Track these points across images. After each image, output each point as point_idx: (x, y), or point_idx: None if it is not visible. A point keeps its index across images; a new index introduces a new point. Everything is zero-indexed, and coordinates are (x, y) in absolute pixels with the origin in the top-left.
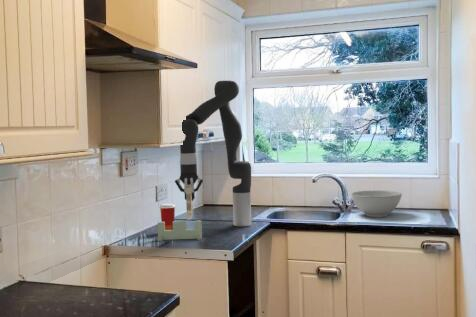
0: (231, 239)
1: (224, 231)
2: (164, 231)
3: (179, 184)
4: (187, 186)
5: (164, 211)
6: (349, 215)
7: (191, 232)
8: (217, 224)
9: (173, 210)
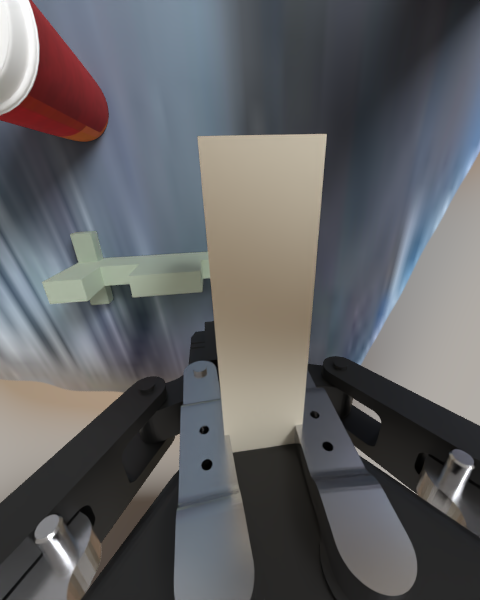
0: (357, 288)
1: (356, 125)
2: (105, 285)
3: (108, 530)
4: None
5: None
6: None
7: None
8: None
9: (47, 76)
